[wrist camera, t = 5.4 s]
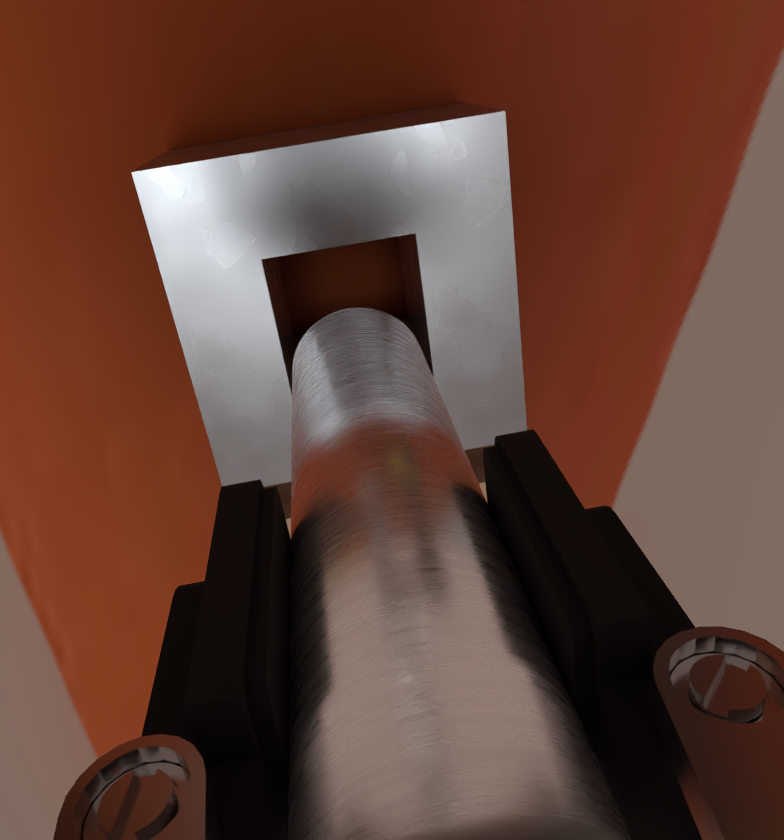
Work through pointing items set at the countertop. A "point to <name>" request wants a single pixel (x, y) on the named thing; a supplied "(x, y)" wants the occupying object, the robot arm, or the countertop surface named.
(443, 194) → the socket block
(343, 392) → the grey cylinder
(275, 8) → the countertop surface
